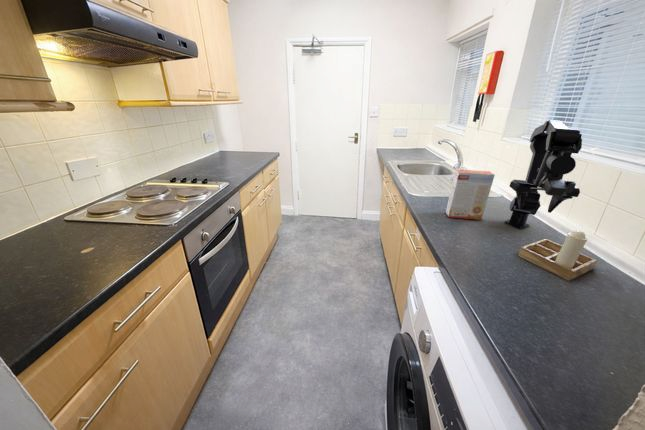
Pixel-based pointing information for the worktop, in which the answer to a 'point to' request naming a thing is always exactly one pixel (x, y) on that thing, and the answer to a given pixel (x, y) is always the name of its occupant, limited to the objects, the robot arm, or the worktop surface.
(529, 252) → the grid
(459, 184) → the cracker box
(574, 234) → the dome-topped white cylinder
